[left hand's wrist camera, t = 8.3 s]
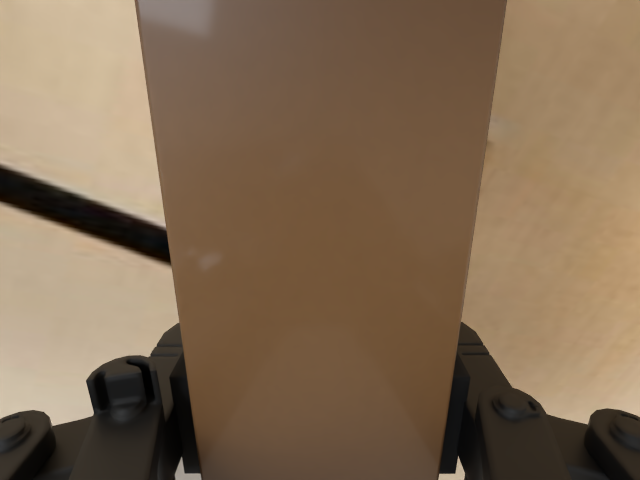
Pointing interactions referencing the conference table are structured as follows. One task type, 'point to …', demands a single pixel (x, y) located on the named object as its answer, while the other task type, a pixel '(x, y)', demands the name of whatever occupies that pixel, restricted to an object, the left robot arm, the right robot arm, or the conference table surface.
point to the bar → (320, 222)
